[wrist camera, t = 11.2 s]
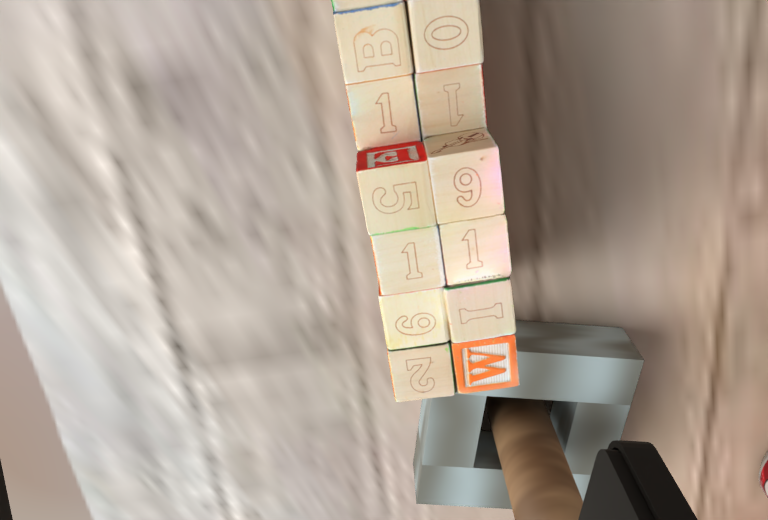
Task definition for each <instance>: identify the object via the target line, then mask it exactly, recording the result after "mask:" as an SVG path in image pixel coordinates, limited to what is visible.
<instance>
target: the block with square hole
mask: <svg viewBox="0 0 768 520" xmlns="http://www.w3.org/2000/svg"><path fill="white" fill-rule="evenodd" d="M515 322H516V332H515V337H516V347H517V359H518V370H519V383H520V385H518V386H515V387H509V388H502V389H495V390H488V391H481V392H474V393H465V394H462V393H458V392H456V393H455V394H454V395H453V396H446V397H436V398H428V399H422V405H421V412H420V419H419V426H418V433H417V441H416V448H415V455H414V462H413V466H414V479H415V491H416V504H432V505H450V506H468V507H485V508H503V509H512V506H511V502H510V498H509V494H508V490H507V486H506V482H505V478H504V475H503V471H502V467H501V463H500V459H499V455H498V451H497V447H496V444H495V440H494V436H493V432H492V431H480V429H481V424H482V418H483V413H484V408H485V403H486V397H487V396H494V397H509V398H525V399H540V400H553V405H552V409H551V413H550V419H551V421H552V424H553V426H554V429H555V431H556V434H557V436H558V439H559V442H560V444H561V447H562V449H563V452H564V454H565V457H566V459H567V462H568V464H569V467H570V470H571V472H572V475H573V477H574V480H575V482H576V485H577V487H578V490H579V492H580V495H581V498H582V500H583V501H584V498H585V494H586V491H587V487H588V484H589V480H590V477H591V473H592V469H593V466H594V462H595V459H596V456H597V453H598V451H599V450H600V449H607V448H608V446H609V444H610V443H611V442H612V441H615V440H619V441H620V439H621V435H622V432H623V429H624V426H625V422H626V419H627V416H628V413H629V409H630V406H631V403H632V399H633V396H634V393H635V390H636V386H637V383H638V380H639V376H640V373H641V370H642V367H643V363H644V359H643V357H642V356H641V355H640V353H639V352H638V350H637V349H636V347H635V346H634V344H633V343H632V341H631V340H630V339H629V337H628V336H627V334H626V333H625V331H624V330H623V328H619V327H605V326H591V325H577V324H563V323H549V322H535V321H521V320H515Z"/></svg>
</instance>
